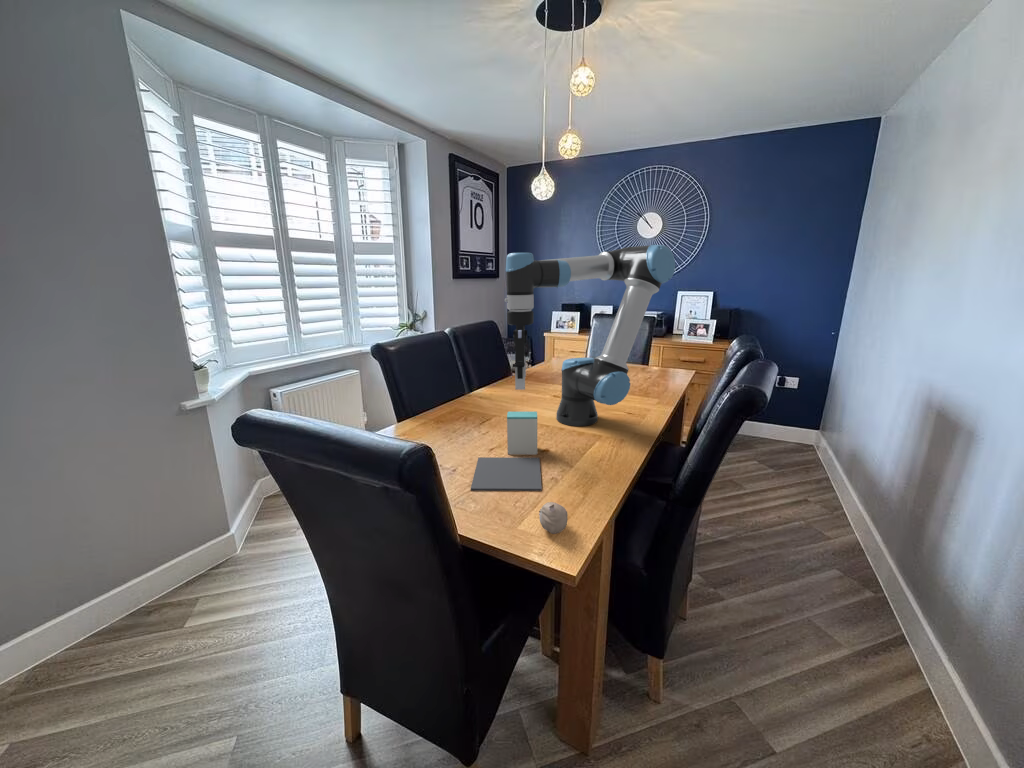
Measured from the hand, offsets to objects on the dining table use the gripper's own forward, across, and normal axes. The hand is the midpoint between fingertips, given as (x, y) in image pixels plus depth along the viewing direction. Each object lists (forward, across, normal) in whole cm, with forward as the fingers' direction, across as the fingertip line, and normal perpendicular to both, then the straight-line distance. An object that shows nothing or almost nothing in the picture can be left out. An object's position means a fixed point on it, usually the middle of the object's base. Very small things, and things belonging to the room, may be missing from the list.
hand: (520, 382), depth 122 cm
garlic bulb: (+22, +40, +8) cm, 46 cm away
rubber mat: (+22, +15, -4) cm, 27 cm away
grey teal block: (+22, 0, 0) cm, 22 cm away
